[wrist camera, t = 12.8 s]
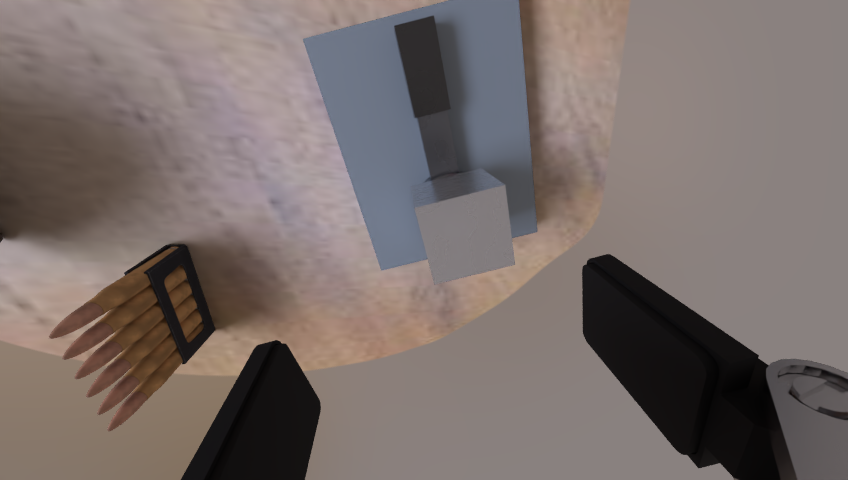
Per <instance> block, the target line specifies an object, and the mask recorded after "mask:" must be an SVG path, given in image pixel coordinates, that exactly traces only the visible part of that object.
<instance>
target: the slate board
mask: <svg viewBox="0 0 848 480" xmlns="http://www.w3.org/2000/svg"><path fill="white" fill-rule="evenodd" d="M433 15H434V18H435V24H436V29H437V35H438V40H439V46H440V52H441V57H442V63H443V68H444V74H445V79H446V85H447V91H448V96H449V102H450V107H451V109H449V110H448V115H449V121H450V126H451V132H452V137H453V143H454V148H455V153H456V159H457V164H458V170H459V171H462V172H468V171H471V170H475V169H479V168H482V169H483V170H485V171H486V172H487V173H489V174H490V175H492V176H493V177H495V178H496V179H497V180H499V181H500V182H502V183H503V184H505V187H506V195H507V203H508V211H509V219H510V227H511V235H512V238H514V237H518V236H522V235H527V234H531V233H535V232H537V221H536V208H535V196H534V183H533V171H532V158H531V146H530V133H529V121H528V108H527V96H526V83H525V71H524V59H523V46H522V34H521V21H520V9H519V0H449V1H445V2H441V3H437V4H434V5H430V6H426V7H422V8H419V9H415V10H411V11H407V12H403V13H400V14H396V15H392V16H388V17H384V18H381V19H377V20H373V21H369V22H365V23H362V24H358V25H354V26H350V27H346V28H343V29H339V30H335V31H331V32H328V33H324V34H320V35H316V36H312V37H309V38H305V39H303V41H304V44H305V47H306V50H307V53H308V56H309V59H310V62H311V65H312V68H313V71H314V74H315V76H316V79H317V82H318V85H319V88H320V91H321V94H322V97H323V100H324V103H325V106H326V109H327V112H328V115H329V118H330V121H331V123H332V126H333V129H334V132H335V135H336V138H337V141H338V144H339V147H340V150H341V153H342V156H343V159H344V162H345V165H346V168H347V171H348V173H349V176H350V179H351V182H352V185H353V188H354V191H355V194H356V197H357V200H358V203H359V206H360V209H361V212H362V215H363V218H364V220H365V223H366V226H367V229H368V232H369V235H370V238H371V241H372V244H373V247H374V250H375V253H376V256H377V259H378V262H379V265H380V268H381V270H385V269H390V268H394V267H398V266H402V265H406V264H410V263H414V262H418V261H422V260H426V259H428V258H427V254H426V251H425V247H424V243H423V239H422V235H421V232H420V228H419V224H418V221H417V216H416V213H415V209H414V203H413V198H412V192H411V186H413V185H417V184H421V183H424V182H425V180H426V179H428V178H429V177H430V175H429V171H428V166H427V162H426V157H425V153H424V149H423V144H422V140H421V135H420V131H419V127H418V122H417V118H414V116H413V111H412V107H411V102H410V98H409V94H408V89H407V85H406V81H405V76H404V72H403V68H402V63H401V59H400V55H399V50H398V46H397V41H396V37H395V33H394V26H395V25H399V24H403V23H406V22H410V21H414V20H418V19H422V18H425V17H429V16H433Z"/></svg>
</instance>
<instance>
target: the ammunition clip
mask: <svg viewBox="0 0 848 480" xmlns="http://www.w3.org/2000/svg"><path fill="white" fill-rule="evenodd" d="M124 274H125V276H124V277H122V278H121V279H119V280H117V281H116V282H114V283H112V284H111V285H109V286H108V287H106V288H104V289H103V290H101V291H100V292H99V293H98V294H97V295H96V296H95V297H94V298H92V299H91V300H90V301H88V302H87V303H85V304H84V305H83V306H81V307H80V308H78V309H77V310H75V311H74V312H72V313H71V314H70V315H68V316H67V317H66V318H65V319H64V320H62V321H61V322H60V323H59V324H58V325H57V326H56V327H55V328H54V330H53V331H52V332H51V334H50V336H49V338H51V339H53V338H57V337H61V336H64V335H66V334H69V333H71V332H73V331H75V330H77V329H79V328H81V327H83V326H85V325H87V324H88V323H90V322H92V321H93V320H95V319H96V318H98V317H99V316H101V315H103V314H104V313H106V312H108V311H109V310H110V311H109V312H108V313H107V314H106V315H105V316H104V317H103V318H102V319H101V320H99V321H98V322H97V323H96V324H95V325H94V326H92V327H91V328H90V329H88V330H87V331H85V332H84V333H83V334H82V335H81V336H80V337H79V338H77V339H76V340H75V341H74V342H73V343H72V344H71V346H70V347H69V348H68V349H67V350H66V352H65V354H64V355H63V357H62V358H63V359H64V360H66V359H69V358H72V357H75V356H77V355H79V354H81V353H83V352H85V351H87V350H89V349H90V348H92V347H94V346H95V345H97V344H98V343H100V342H102V341H103V340H104V339H106V338H107V337H108V336H110V335H111V334H113V333H114V332H116V333H115V334H114V335H113V336H112V337H111V338H110V339H108V340H107V341H106V342H105V343H104V344H103V345H102V346H101V347H100V348H98V349H97V350H96V351H95V352H94V353H93V354H92V355H91V356H90V357H89V358H88V359H87V360H86V361H85V362H84V363H83V365H82V366H81V367H80V369H79V370H78V372H77V373H76V375H75V379H80V378H82V377H85V376H87V375H89V374H90V373H92V372H94V371H96V370H97V369H99V368H101V367H102V366H104V365H105V364H106V363H108V362H109V361H111V360H112V359H113V358H114V357H116V356H117V355H118V354H119V353H120V352H122V351H123V350H124V351H123V352H122V353H121V354H120V355H119V356H118V357H117V358H116V359H115V360H114V361H113V362H112V363H111V364H110V365H109V366H108V367H107V368H106V369H105V370H104V371H103V372H102V373H101V374H100V375H99V376H98V378H97V379H96V380H95V381H94V383H93V384H92V386H91V387H90V389H89V390H88V392H87V395H86V397H91V396H94V395H96V394H97V393H99V392H101V391H102V390H104V389H105V388H107V387H109V386H110V385H111V384H113V383H114V382H115V381H117V380H118V379H119V378H120V377H121V376H123V375H124V374H125V373H126V372H127V371H128V370H129V369H130V370H129V372H128V373H127V374H126V375H125V376H124V377H123V378H122V379H121V380H120V381H119V382H118V384H117V385H115V387H114V388H113V389H112V390H111V391H110V392H109V394H108V395H107V396H106V398H105V399H104V401H103V402H102V404H101V405H100V408H99V409H98V412H97V414H98V415H100V414H103V413H105V412H106V411H108V410H110V409H111V408H113V407H114V406H115V405H117V404H118V403H119V402H121V401H122V400H123V399H124V398H125V397H127V396H128V395H129V394H130V393H131V392H132V391H133V390H134V389H135V388H136V389H135V390H134V391H133V392H132V393H131V395H130V396H129V397H128V398H127V399H126V401H125V402H124V403H123V404H122V406H121V407H120V408H119V409H118V411H117V412H116V414H115V415H114V417H113V418H112V420H111V422H110V424H109V426H108V429H107V430H108V431H111V430H113V429H115V428H116V427H118V426H119V425H121V424H122V423H123V422H125V421H126V420H127V419H128V418H129V417H130V416H132V415H133V414H134V413H135V412H136V411H137V410H138V409H139V408H140V407H141V406H142V404H143V403H144V402H145V401H146V400H147V399H148V398H149V397H150V396H151V395H152V394H153V393H154V392H155V391H156V390H158V389H159V388H160V387H161V386H162V385H163V384H164V383H165V382H166V381H167V379H168V378H169V377H170V376H171V375H172V374H173V373H174V371H175V370H176V369H177V368H178V367H179V366H180V364H181V363H182V362H183V363H182V364H186V363H187V361H188V360H189V359H190V358H191V357H192V356H193V355H194V354H195V352H196V351H197V350H198V349H199V348H200V347H201V346H202V345H203V343H204V342H205V341H206V340H207V339H208V338H209V337H210V335H211V334H212V333H213V332H214V331H215V327H214V324H213V321H212V318H211V315H210V312H209V309H208V306H207V303H206V301H205V298H204V295H203V292H202V289H201V286H200V283H199V280H198V277H197V274H196V271H195V268H194V265H193V262H192V259H191V256H190V253H189V250H188V247H187V246H186V245H165V246H164V247H162V248H161V249H159V250H158V251H156V252H155V253H153V254H152V255H150V256H149V257H147V258H146V259H144V260H143V261H141V262H140V263H138V264H137V265H135V266H134V267H132V268H131V269H129V270H128V271H126V272H125V273H124Z"/></svg>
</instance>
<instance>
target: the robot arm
mask: <svg viewBox="0 0 848 480" xmlns="http://www.w3.org/2000/svg"><path fill="white" fill-rule="evenodd" d="M582 276H583V277H582V280H583V281H582V282H583V334H584V337H585V339H586V341H587V343H588V344H589V345H590V346H591V347H592V349H593V350H594V351H595V352H596V353H597V355H598V356H599V357H600V358H601V359H602V361H603V362H604V363H605V365H606V366H607V367H608V368H609V369H610V370H611V372H612V373H613V374H614V375H615V377H616V378H617V379H618V380H619V381H620V383H621V384H622V385H623V386H624V387H625V389H626V390H627V391H628V392H629V394H630V395H631V396H632V397H633V398H634V400H635V401H636V402H637V403H638V405H639V406H641V408H642V409H643V411H644V412H645V413H646V414H647V415H648V417H649V418H650V419H651V420H652V421H653V423H654V424H655V425H656V426H657V427H658V429H659V430H660V431H661V432H662V434H663V435H664V436H665V437H666V438H667V440H668V441H669V442H670V443H671V445H672V446H673V447H674V448H675V449H676V450H677V451H678V452H679V453H681V454H683V455H688V456H689V457H690V459H691V460H692V461H693V462H694V463H695V464H696V466H697V467H698V468H702V467H706V466H710V465H714V464H718V463H721V464H722V465H723V467H724V468H725V469H726V470H727V471H728V472H729V473H730V474H731V475H732V476H733V478H734V480H848V373H847V372H844V371H841V370H839V369H836V368H834V367H831V366H828V365H825V364H821V363H817V362H813V361H808V360H799V359H781V360H778V361H776V362H773V363H771V364H770V365H767V364H766V363H764V362H763V361H761V360H760V359H758V356H759V355H757V354H756V353H754V352H753V351H751V350H750V349H748V348H747V347H745V346H744V345H743V344H741V343H740V342H738V341H737V340H735V339H734V338H732V337H731V336H729V335H728V334H726V333H725V332H724V331H722V330H721V329H719V328H717V327H716V326H715V325H713V324H712V323H710V322H709V321H707V320H706V319H704V318H703V317H702V316H700V315H699V314H697V313H696V312H694V311H693V310H691V309H690V308H688V307H687V306H685V305H684V304H682V303H681V302H680V301H678V300H677V299H675V298H674V297H672V296H671V295H669V294H668V293H666V292H665V291H663V290H662V289H661V288H659V287H658V286H656V285H655V284H653V283H652V282H650V281H649V280H647V279H646V278H644V277H643V276H642V275H640V274H639V273H637V272H635V271H634V270H632V269H631V268H630V267H628V266H627V265H625V264H624V263H622V262H621V261H620V260H618V259H617V258H615V257H613V256H612V255H610V254H606V255H603V256H599V257H595V258H591V259H589V260H588V261H587V265H584V266H583V270H582ZM320 410H321V406H320V400H319V398H318V397H317V395H316V393H315V392H314V390H313V388H312V386H311V385H310V383H309V381H308V380H307V378H306V376H305V375H304V373H303V371H302V369H301V368H300V366H299V364H298V363H297V361H296V359H295V358H294V356H293V354H292V353H291V351H290V349H289V347H288V346H287V345H286V344H282V343H281V342H280V341H278V340H275V341H272V342H268V343H264V344H260V345H258V346H256V347H255V349H254V350H253V352H252V354H251V355H250V357H249V359H248V361H247V363H246V364H245V366H244V368H243V370H242V372H241V373H240V375H239V377H238V379H237V380H236V382H235V384H234V386H233V388H232V389H231V391H230V393H229V395H228V396H227V399H226V400H225V402H224V404H223V405H222V407H221V409H220V411H219V413H218V414H217V416H216V418H215V420H214V421H213V423H212V425H211V427H210V429H209V430H208V432H207V434H206V436H205V438H204V439H203V441H202V443H201V445H200V446H199V448H198V450H197V452H196V454H195V455H194V457H193V459H192V461H191V462H190V464H189V466H188V468H187V470H186V472H185V473H184V475H183V477H182V479H181V480H305V476H306V472H307V467H308V463H309V459H310V454H311V450H312V446H313V441H314V437H315V432H316V428H317V424H318V419H319V415H320Z"/></svg>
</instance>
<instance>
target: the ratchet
mask: <svg viewBox="0 0 848 480" xmlns="http://www.w3.org/2000/svg"><path fill="white" fill-rule="evenodd" d="M394 33H395V37H396V41H397V46H398V50H399V55H400V59H401V63H402V68H403V72H404V76H405V81H406V85H407V89H408V94H409V98H410V102H411V107H412V111H413V116H414V118H417V122H418V127H419V131H420V135H421V140H422V144H423V149H424V153H425V157H426V162H427V166H428V171H429V175H430V177H429V178H428V179H426V180H425V182H428V181H432V180H436V179H440V178H444V177H448V176H452V175H456V174H460V173H464V172H462V171H459V170H458V164H457V159H456V153H455V148H454V143H453V137H452V132H451V126H450V121H449V115H448V110H449V109H451V107H450V102H449V96H448V91H447V85H446V79H445V74H444V68H443V63H442V57H441V52H440V46H439V40H438V35H437V29H436V24H435V18H434V15H433V16H429V17H425V18H422V19H418V20H414V21H410V22H406V23H403V24H399V25H395V26H394ZM417 221H418V220H417Z"/></svg>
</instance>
